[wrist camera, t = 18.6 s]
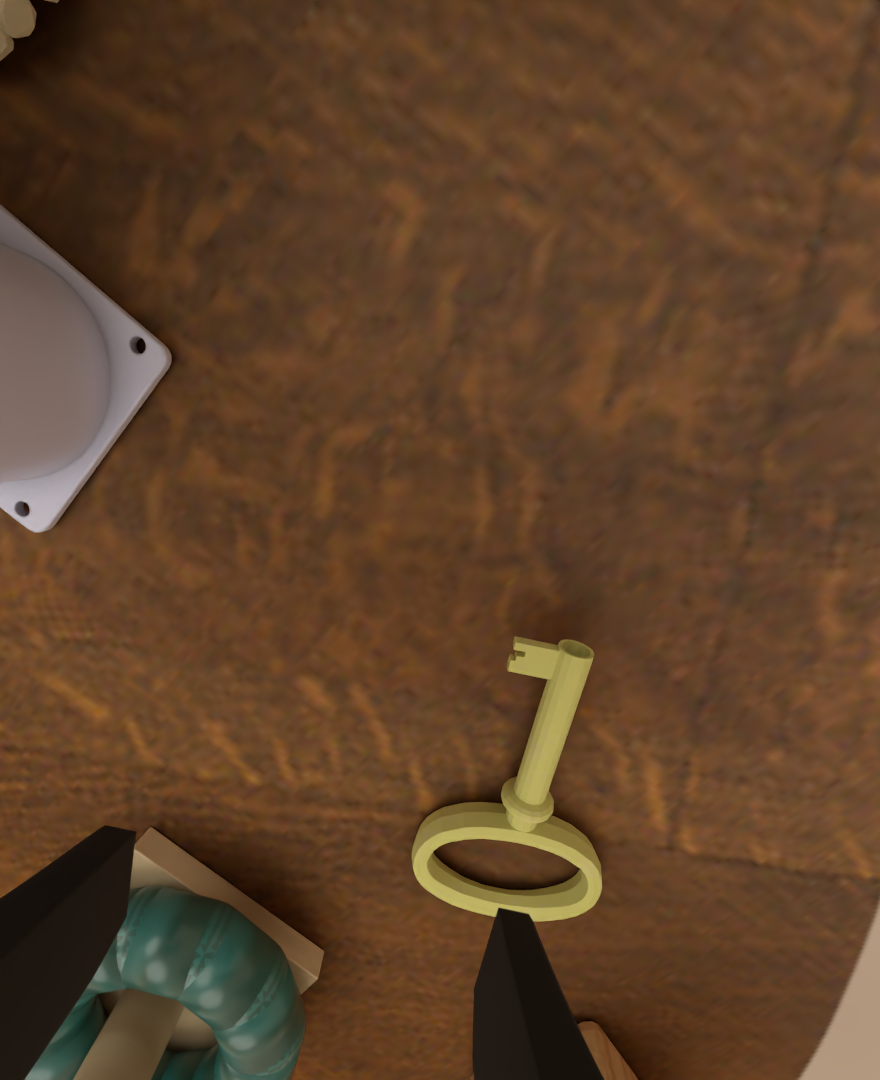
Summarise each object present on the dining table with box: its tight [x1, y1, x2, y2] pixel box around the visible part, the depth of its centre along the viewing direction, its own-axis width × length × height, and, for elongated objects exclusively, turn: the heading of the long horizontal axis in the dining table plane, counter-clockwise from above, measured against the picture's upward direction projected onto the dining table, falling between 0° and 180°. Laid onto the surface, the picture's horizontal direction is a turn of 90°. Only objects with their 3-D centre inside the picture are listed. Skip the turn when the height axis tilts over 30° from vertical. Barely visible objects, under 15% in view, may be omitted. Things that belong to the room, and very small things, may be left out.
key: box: [412, 636, 602, 921], centre depth 20 cm, size 7×12×2 cm, turn 6°
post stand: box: [73, 827, 324, 1080], centre depth 20 cm, size 9×9×7 cm
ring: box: [25, 885, 306, 1080], centre depth 21 cm, size 11×11×3 cm
